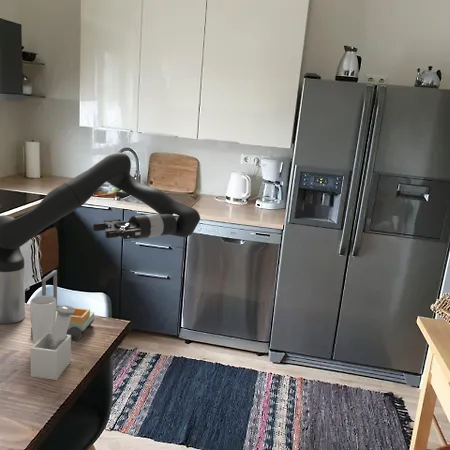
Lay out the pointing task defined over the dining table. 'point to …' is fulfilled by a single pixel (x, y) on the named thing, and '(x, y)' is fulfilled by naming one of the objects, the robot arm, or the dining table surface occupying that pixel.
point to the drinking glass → (42, 316)
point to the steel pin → (61, 325)
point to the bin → (50, 357)
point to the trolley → (79, 317)
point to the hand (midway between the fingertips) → (99, 231)
